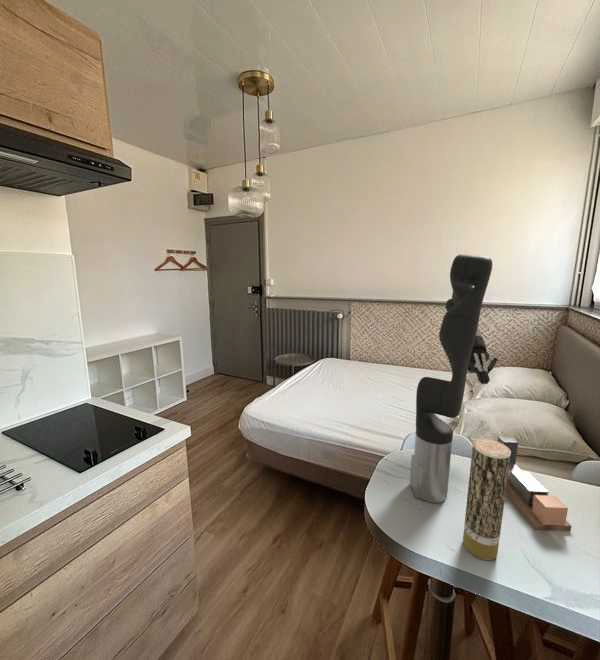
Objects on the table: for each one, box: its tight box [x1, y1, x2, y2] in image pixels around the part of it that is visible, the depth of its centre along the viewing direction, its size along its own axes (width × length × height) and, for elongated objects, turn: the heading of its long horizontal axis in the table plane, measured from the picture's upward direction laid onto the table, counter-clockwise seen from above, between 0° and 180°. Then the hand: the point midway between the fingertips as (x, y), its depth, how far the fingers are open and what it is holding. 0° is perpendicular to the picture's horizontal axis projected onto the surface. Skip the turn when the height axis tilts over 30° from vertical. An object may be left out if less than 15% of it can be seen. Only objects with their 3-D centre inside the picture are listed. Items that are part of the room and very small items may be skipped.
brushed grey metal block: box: [497, 436, 546, 505], centre depth 86 cm, size 4×16×10 cm, turn 176°
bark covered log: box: [462, 438, 511, 561], centre depth 67 cm, size 7×7×25 cm
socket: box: [532, 495, 569, 526], centre depth 75 cm, size 5×4×5 cm
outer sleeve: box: [509, 471, 549, 506], centre depth 83 cm, size 5×8×4 cm, turn 176°
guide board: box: [505, 479, 573, 532], centre depth 84 cm, size 8×20×2 cm, turn 176°
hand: (485, 383), depth 105 cm, fingers closed
